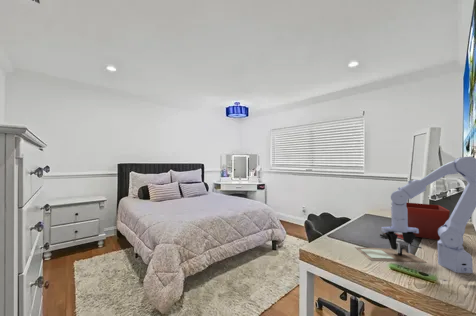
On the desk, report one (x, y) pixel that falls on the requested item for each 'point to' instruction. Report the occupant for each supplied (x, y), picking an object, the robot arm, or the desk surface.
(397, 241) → the c link
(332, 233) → the desk surface
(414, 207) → the plant pot
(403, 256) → the stand
